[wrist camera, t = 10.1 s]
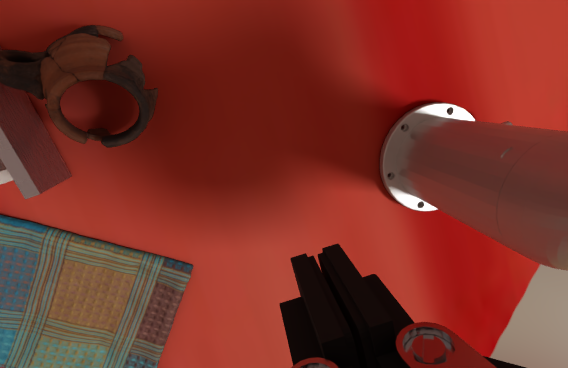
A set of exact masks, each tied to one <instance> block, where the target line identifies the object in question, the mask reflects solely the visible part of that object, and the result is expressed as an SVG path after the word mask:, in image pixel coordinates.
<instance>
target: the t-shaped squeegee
mask: <svg viewBox="0 0 568 368" xmlns="http://www.w3.org/2000/svg"><path fill="white" fill-rule="evenodd" d="M0 50H2V48H1V47H0ZM0 159H1V160H2V162H3V164H4V165H5V167H6V168H7V170H8V172H9V173H10V175H11V177H12V178H13V180H14V181H15V183H16V185H17V186H18V188H19V190H20V191H21V193H22V195H23V196H24V198H25V199H28V198H30V197H33V196H36V195H39V194H41V193H43V192H45V191H47V190H48V189H50V188H52V187H54V186H56V185H57V184H59V183H61V182H63V181H64V180H66V179H68V178H70V177H72V175H71V173H70V172H69V170H68V168H67V166H66V164H65V163H64V161H63V159H62V157H61V155H60V153H59V152H58V150H57V148H56V146H55V144H54V143H53V141H52V139H51V137H50V135H49V134H48V132H47V130H46V128H45V126H44V124H43V123H42V121H41V119H40V117H39V115H38V114H37V112H36V110H35V108H34V106H33V105H32V103H31V101H30V99H29V97H28V96H27V94H26V92H25V91H24V90H18V89H14V88H11V87H8V86H6V85H4V84H2V83H0Z"/></svg>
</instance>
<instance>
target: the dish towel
mask: <svg viewBox="0 0 568 368" xmlns="http://www.w3.org/2000/svg"><path fill="white" fill-rule="evenodd" d="M192 269H193V265H192V264H188V263H185V262H182V261H178V260H175V259H171V258H168V257H164V256H160V255H156V254H153V253H149V252H145V251H139V250H135V249H130V248H126V247H124V246H119V245H116V244H112V243H108V242H105V241H100V240H96V239H92V238H88V237H84V236H80V235H77V234H74V233H71V232H67V231H64V230H60V229H56V228H52V227H49V226H44V225H41V224H38V223H34V222H30V221H26V220H20V219H17V218H11V217H7V216H4V215H0V367H4V368H157V366H158V363H159V359H160V357H161V354H162V351H163V349H164V345H165V343H166V341H167V338H168V336H169V333H170V330H171V327H172V324H173V321H174V317H175V314H176V312H177V309H178V306H179V304H180V302H181V299H182V296H183V293H184V290H185V288H186V285H187V283H188V281H189V279H190V277H191V271H192Z"/></svg>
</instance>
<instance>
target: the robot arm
mask: <svg viewBox="0 0 568 368" xmlns="http://www.w3.org/2000/svg"><path fill="white" fill-rule="evenodd" d="M401 126H402V129H401ZM380 173H381V179H382V181H383V184H384V186H385V188H386V190H387V191H388V193H389V194H390V195H391V196H392V197H393V198H394V199H395V200H396V201H397V202H399V203H400V204H402V205H403V206H405V207H408V208H410V209H413V210H417V211H433V210H438V209H439V210H441V211H442V212H444V213H446V214H448V215H450V216H452V217H453V218H455V219H457V220H459V221H461V222H463V223H464V224H466V225H468V226H470V227H472V228H474V229H475V230H477V231H479V232H481V233H483V234H485V235H486V236H488V237H490V238H492V239H494V240H495V241H497V242H499V243H501V244H503V245H505V246H506V247H508V248H510V249H512V250H514V251H516V252H518V253H519V254H521V255H523V256H525V257H527V258H529V259H531V260H533V261H535V262H537V263H539V264H542V265H545V266H548V267H551V268H555V269H561V270H568V132H566V131H558V130H549V129H541V128H532V127H523V126H515V125H512V123H511V122H509V121H506V122H503V123H500V124H498V123H489V122H480V121H476V120H475V119H474V118H473V116H472V115H471V114H470V113H469V112H467V111H466V110H465V109H463V108H461V107H459V106H457V105H454V104H449V103H437V102H435V103H428V104H424V105H421V106H418V107H416V108H414V109H412V110H410V111H409V112H407V113H406V114H405V115H403V116H402V117H401V118H400V119H399V120H398V121H397V122H396V123H395V124H394V126H393V127H392V128H391V129H390V131H389V133H388V135H387V136H386V138H385V141H384V144H383V146H382V149H381V155H380ZM388 174H389V175H388ZM387 175H388V176H387ZM322 250H323V253H320V254H318V259H319V263H320V267H321V270H320V268H319V266H318V264H317V262H316V260H315V258H314V256H310V257H307V255H306V253H305V254H302V255H299V256H296V257H292V258H291V263H292V266H293V270H294V273H295V277H296V281H297V284H298V288H299V292H300V295H301V297H299V298H296V299H292V300H289V301H286V302H283V303H280V309H281V313H282V317H283V322H284V326H285V331H286V335H287V339H288V344H289V348H290V353H291V357H292V361H293V367H292V368H526V367H521V366H518V365H514V364H510V363H506V362H503V361H499V360H496V359H492V358H488V357H485V356H482V355H481V354H479V353H478V352H477V351H476V350H475V349H473V348H472V347H471V346H470V345H469V344H467V343H466V342H465V341H464V340H462V339H461V338H460V337H459V336H458V335H456V334H455V333H454V332H453V331H451V330H450V329H448V328H446V327H445V326H442V325H439V324H436V323H430V322H419V323H414V322H413V320H412V319H411V318H410V317H409V315H408V314H407V313H406V312H405V310H404V309H403V308H402V306H401V305H400V304H399V303H398V301H397V300H396V299H395V298H394V296H393V295H392V294H391V293H390V291H389V290H388V289H387V288H386V286H385V285H384V284H383V283H382V281H381V280H380V279H379V278H378V276H377V275H376V274H372V275H368V276H365V277H362V276H361V275H360V273H359V272H358V271H357V269H356V268H355V266H354V265H353V264H352V262H351V261H350V259H349V258H348V256H347V255H346V254H345V252H344V251H343V249H342V248H341V247H340V245H339V244H335V245H332V246H328V247H325V248H323V249H322ZM321 271H322V272H321Z"/></svg>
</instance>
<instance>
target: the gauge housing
mask: <svg viewBox="0 0 568 368" xmlns="http://www.w3.org/2000/svg"><path fill="white" fill-rule="evenodd" d="M12 180H13V178H12V177H11V175H10V173H9V172H8V170H7V168H6V167H5V165H4V164H3V162H2V160H1V159H0V184H3V183H6V182H9V181H12Z"/></svg>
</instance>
